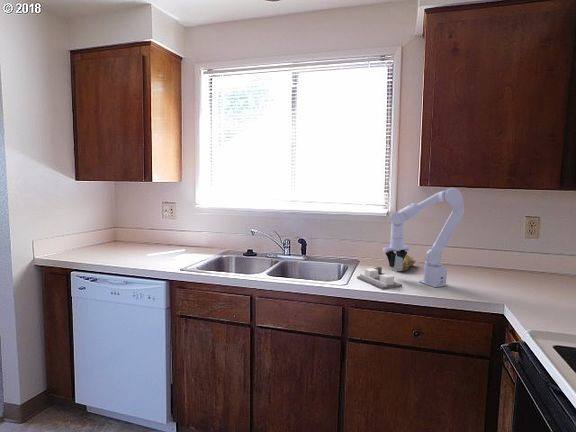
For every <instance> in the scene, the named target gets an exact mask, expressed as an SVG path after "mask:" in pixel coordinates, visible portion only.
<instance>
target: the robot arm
mask: <svg viewBox="0 0 576 432" xmlns="http://www.w3.org/2000/svg"><path fill="white" fill-rule="evenodd" d="M445 200H446V202H447V203H448V204H449V206H450V210H451V213H450V214H449V216H448V218H447V220H446V221H445V223H444V225H443V227H442V229H441V231H440V232H439V234H438V236H437V237H436V240H435V241H434V243H433V245H432V246H431V247H430V248H429V249H427V250H426V253H425V261H424V264H423V278H422V279H419V280H418V282H419V283H421V284H424V285H427V286H430V287H433V288H438V287H439V288H440V287H446V286H448V284H447V277H448V275H447V274H448V271H447V269H446V268H445V267H444V266H443V264H442V262H441V261H442V255H443V253H444V250H445V248H446V247H447V244H448V242H449V241H450V239H451V238H452V236H453V234H454V232H455V230H456V228H457V226H458V225H459V223H460V221H461V220H462V217H463V215H464V214H465V211H466V210H465V204H464V203H465V202H464V197H463V195H462V193H461V191H460V190H459V189H458V188H456V187H449V188H447V189H446V190H442V191H438V192H436V193H434V194H433V195H431V196H429V197H428V198H426V199H424V200H422V201H420V202H419V203H415V202H413V203H408V204H407V206H405V207H404V208H399V209H398V211H395V212H394V213H393V214H391V217H390V221H391V224H390V225H391V227H390V244H389V246H386V247H382V253H385V255H386V259H387V260H388V263H389V265H390V267H394V261H395V257H396V256H398V257H401V258H403V260H404V258H405V256H406V255H408V251H410V249H411V247H410V246H409V245H404V233H405V232H404V231H405V230H404V229H405V228H404V222H405V221H409V220H411V219H413V218H414V217H417V216H418V215H420V214H421V211H422V210H423V209H425V208H428V207H430V206H432V205H434V204H436V203H440V202H441V203H444V202H445Z"/></svg>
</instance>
